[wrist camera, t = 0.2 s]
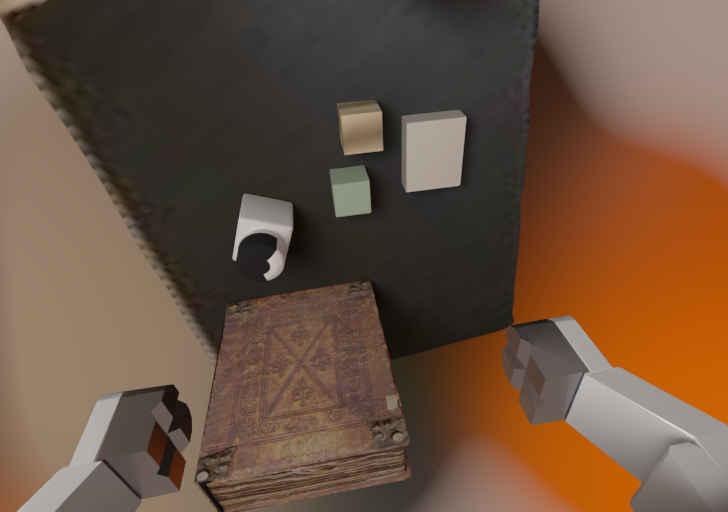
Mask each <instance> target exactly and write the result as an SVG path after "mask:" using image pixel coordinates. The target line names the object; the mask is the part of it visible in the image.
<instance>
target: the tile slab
mask: <svg viewBox="0 0 728 512" xmlns="http://www.w3.org/2000/svg"><path fill="white" fill-rule="evenodd" d="M466 118H467V117H466V116H465V115H464V114H463V113H462V112H461V111H460V110H453V111H443V112H434V113H425V114H416V115H407V116H402V184H403V187H404V189H405V191H406V192H413V191H421V190H429V189H437V188H445V187H453V186H460V182H461V171H462V161H463V150H464V139H465V129H466Z"/></svg>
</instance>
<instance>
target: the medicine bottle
mask: <svg viewBox="0 0 728 512" xmlns="http://www.w3.org/2000/svg"><path fill="white" fill-rule="evenodd" d="M292 231H293V204H292V203H291V202H286V201H281V200H276V199H271V198H266V197H261V196H256V195H251V194H244V195H243V199H242V204H241V209H240V215H239V220H238V226H237V232H236V239H235V245H234V251H233V260H235V261H236V265H237V268H238V270H239V272H240V273H241V274H242V275H244V276H245V277H247V278H249V279H251V280H254V281H268V280H271V279H273V278H275V277H277V276H278V275H279V274H280V273H281V272H282V271H283V268H284V263H285V259H286V255H287V251H288V247H289V243H290V239H291V235H292Z"/></svg>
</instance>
